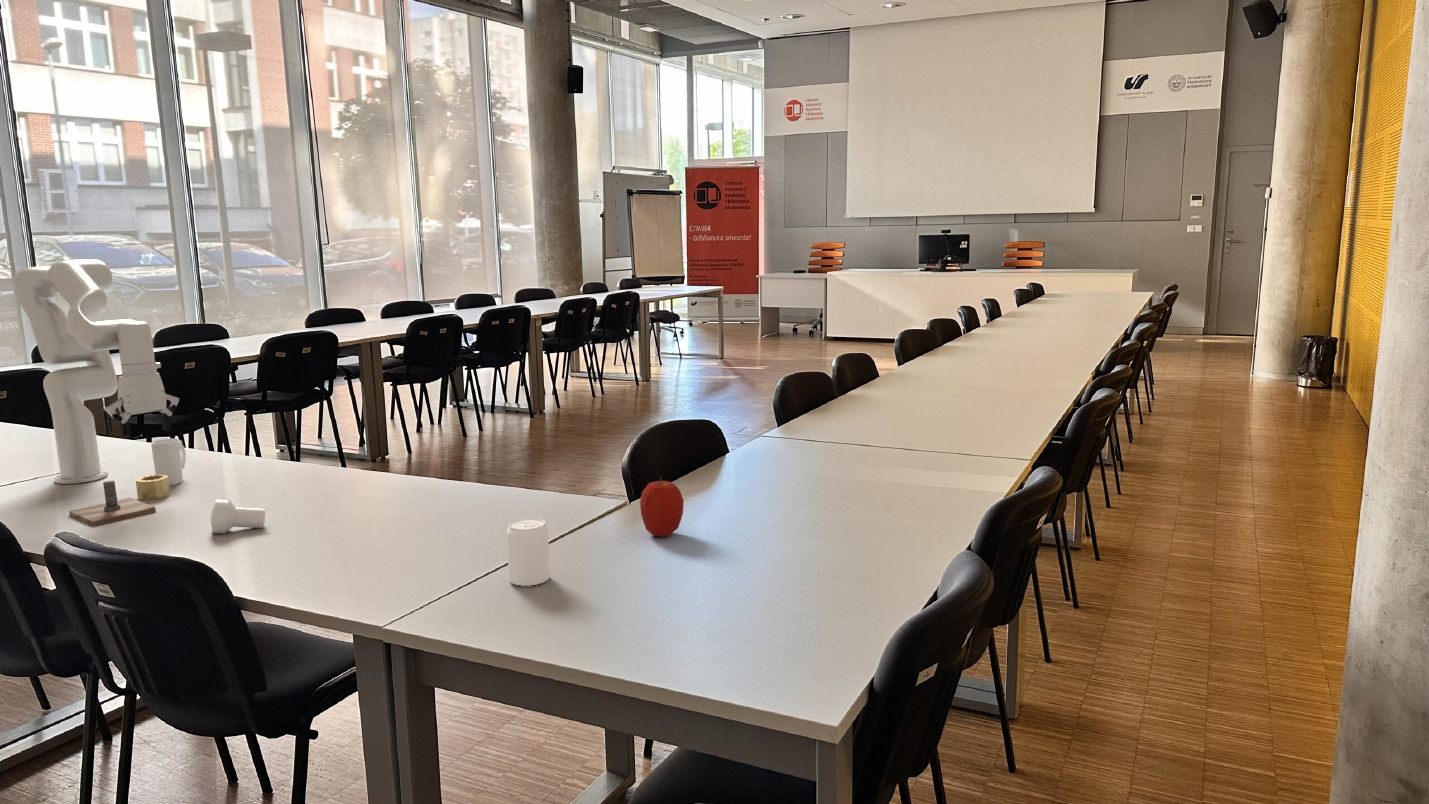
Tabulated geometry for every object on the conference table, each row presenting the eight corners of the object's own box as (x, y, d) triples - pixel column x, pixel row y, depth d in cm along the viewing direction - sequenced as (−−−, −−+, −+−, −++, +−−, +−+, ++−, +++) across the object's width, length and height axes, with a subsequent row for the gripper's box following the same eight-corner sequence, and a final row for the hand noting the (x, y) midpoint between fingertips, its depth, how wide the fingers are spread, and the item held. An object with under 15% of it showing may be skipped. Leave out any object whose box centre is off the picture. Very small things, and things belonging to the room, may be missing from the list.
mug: (171, 486, 255) (166, 444, 253) (150, 485, 256) (145, 443, 254) (198, 477, 264) (193, 436, 262) (177, 476, 266) (172, 435, 263)
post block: (69, 515, 230) (65, 483, 228) (131, 502, 241) (127, 471, 239) (93, 526, 221) (88, 493, 220) (155, 511, 232) (152, 480, 231)
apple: (667, 545, 206) (666, 485, 204) (630, 537, 211) (629, 478, 209) (692, 532, 215) (692, 474, 212) (657, 525, 220) (656, 468, 217)
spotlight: (209, 523, 219) (213, 492, 217) (262, 525, 225) (267, 495, 223) (208, 539, 212) (212, 507, 210) (262, 541, 218) (267, 510, 216)
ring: (133, 497, 245) (131, 478, 244) (162, 490, 251) (160, 473, 250) (145, 501, 241) (143, 483, 240) (174, 495, 247) (172, 477, 246)
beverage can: (511, 573, 190) (509, 517, 188) (551, 572, 190) (549, 516, 188) (506, 589, 182) (503, 530, 180) (548, 587, 183) (545, 529, 180)
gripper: (167, 364, 249) (175, 426, 252) (95, 372, 235) (104, 438, 238) (180, 366, 244) (188, 429, 247) (107, 375, 230) (117, 442, 234)
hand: (147, 434), depth 243 cm, fingers open, 9 cm apart
